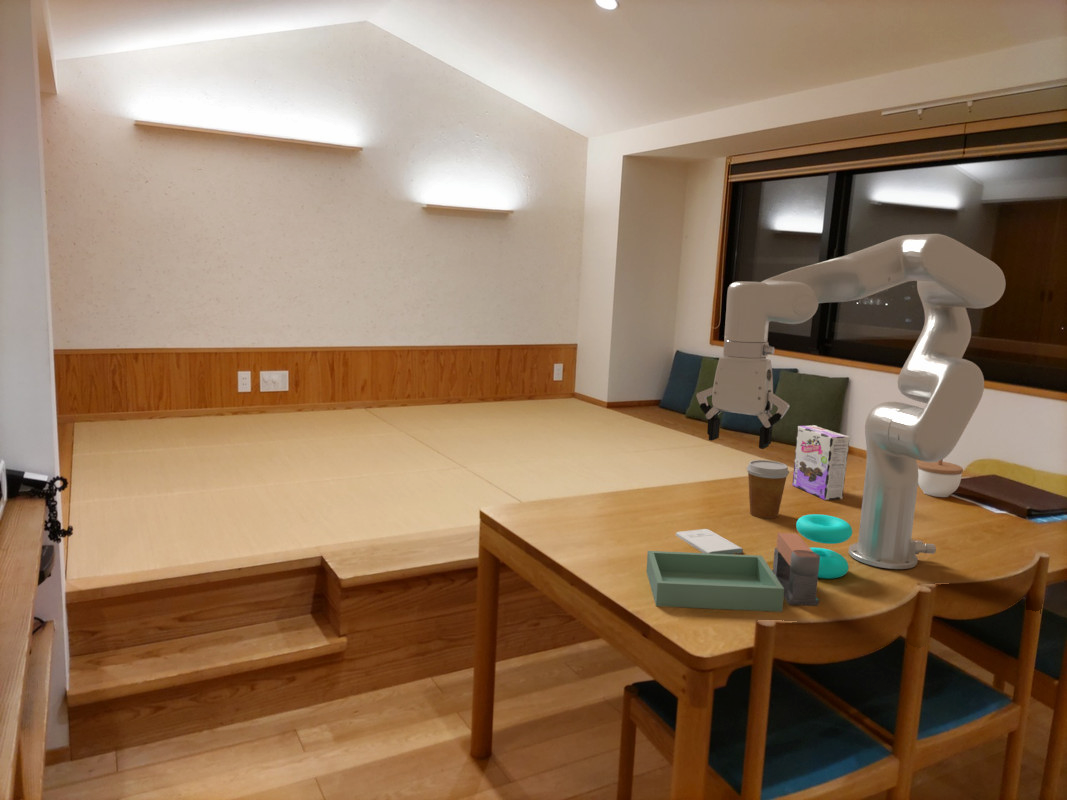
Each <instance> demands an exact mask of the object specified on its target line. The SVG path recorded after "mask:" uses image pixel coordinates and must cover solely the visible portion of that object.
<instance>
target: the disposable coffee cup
mask: <svg viewBox="0 0 1067 800" xmlns="http://www.w3.org/2000/svg"><path fill="white" fill-rule="evenodd" d="M746 470H747V471H746V472H747V475H748V476H747V477H748V495H749V499H748V500H749V513H750V514H751V515H752V516H754V517H758V518H761V519H776V518H778V516H779V512H780V507H781V505H782V499H783V495H784V490H785V486H786V480H787V477H789V476H788V475H789V474H790V471H789V467H788V465H786V463H783V462H779V461H777V460H776V461H774V460H768V459H767V460H766V459H755V460H750V461H749V462H748V465H747V466H746Z"/></svg>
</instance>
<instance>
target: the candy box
mask: <svg viewBox="0 0 1067 800" xmlns="http://www.w3.org/2000/svg"><path fill="white" fill-rule="evenodd" d="M850 438H851V437H850V435H845V434H842V433H839V432H835V431H832V430H829V429H827V428H823V427H821V426H818V425H817V424H816V425H814V424H812V425H798V426H797V432H796V442H795V453H794V461H793V462H794V463H793V474H792V476H793V477H792V483H791V484H792V486H793V487H795V488H797V489H799V490H802V491H804V492H806V493H809V494H811V495H812V496H816V497H817V498H819V499H821V500H824V501H830V500H831V501H832V500H834V501H835V500H843V497H844V488H845V479H846V473H847V472H846V471H847V463H848V456H849V455H848V454H849V447H850V445H849V444H850V440H851V439H850Z"/></svg>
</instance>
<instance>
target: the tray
mask: <svg viewBox="0 0 1067 800" xmlns="http://www.w3.org/2000/svg"><path fill="white" fill-rule="evenodd" d="M772 570H773V569H771V568H770V566H769V564H768V563H767V561H766V560H765V559H764V557H763V556H762V555H757V554H756V555H755V554H754V555H753V554H751V555H750V554H711V553H701V552H688V551H687V552H685V551H683V552H682V551H661V550H647V557H646V574H647V579H648V582H649V585H650V590H651V592H652V597H653V600H654V603H655V607H668V608H670V607H671V608H687V609H689V608H690V609H691V608H692V609H712V610H713V609H714V610H730V611H731V610H735V611H754V612H755V611H756V612H757V611H758V612H780V613H783V607H784V587H783V586H782V585H781V583H780V582H779V580H778V579H777V577H776V576H775V574H774V573H773V572H772Z"/></svg>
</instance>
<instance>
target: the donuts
mask: <svg viewBox="0 0 1067 800" xmlns="http://www.w3.org/2000/svg"><path fill="white" fill-rule="evenodd" d="M795 525H796V526H795V527H796V530H797V532H798V533H799V534H800V535H801V536H802V537H804V538H805V539H807V540H809V541H811V542H815V543H819V544H826V545H828V544H829V545H835V544H842V543H844V542H846V541H848V540H849V539H850V538H851V537H852V535H853V528H852V525H850V523H848V522H847V521H846V520H844V519H843V518H839V517H837V516H832V515H827V514H816V513H815V514H813V513H812V514H806V515H805V514H804V515H802V516H801V517H799V518H798V519H797V521H796V524H795ZM809 548H810V549H811V550H812V551H813V552H814V553H817V554H818V555H819V556H820V562H819V572H818V579H826V580H827V579H838V578H842V577H843V576H845V575H846V574H847V573H848V571H849V563H848V561H847V559H846V558H845V557H844V556H843V555H842V554H840V553H838V552H837V551H834V550H832V549H828V548H823V547H809Z"/></svg>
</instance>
